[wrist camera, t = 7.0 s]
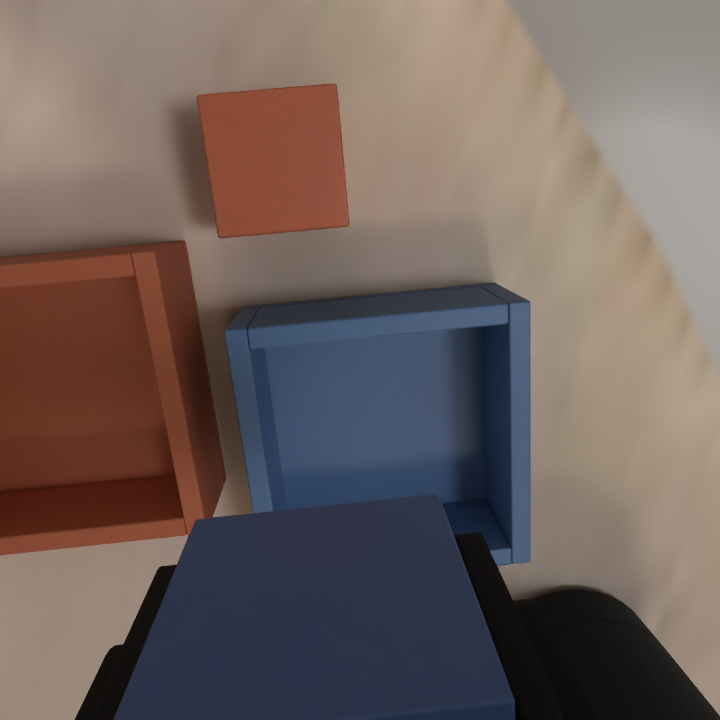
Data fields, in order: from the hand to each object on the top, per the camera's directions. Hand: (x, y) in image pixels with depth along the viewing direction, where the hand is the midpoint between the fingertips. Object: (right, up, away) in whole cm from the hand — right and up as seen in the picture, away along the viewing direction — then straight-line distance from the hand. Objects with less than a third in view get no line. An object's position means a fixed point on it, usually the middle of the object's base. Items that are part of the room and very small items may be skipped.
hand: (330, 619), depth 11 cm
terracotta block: (-2, +13, +12) cm, 18 cm away
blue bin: (+1, +2, +15) cm, 16 cm away
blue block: (0, 0, 0) cm, 0 cm away
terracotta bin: (-12, +4, +14) cm, 19 cm away
